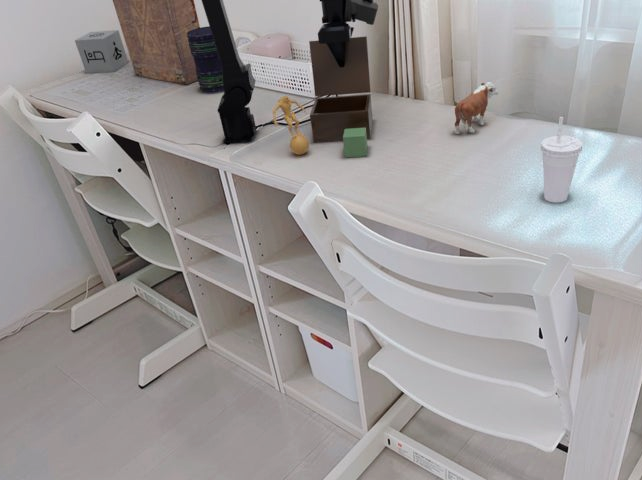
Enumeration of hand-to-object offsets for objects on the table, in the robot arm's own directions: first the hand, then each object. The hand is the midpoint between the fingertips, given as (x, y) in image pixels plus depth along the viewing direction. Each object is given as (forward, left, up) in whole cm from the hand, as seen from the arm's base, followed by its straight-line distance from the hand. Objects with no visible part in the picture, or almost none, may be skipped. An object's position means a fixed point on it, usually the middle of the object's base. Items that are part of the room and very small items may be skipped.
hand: (342, 66), depth 131 cm
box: (-1, -4, -13) cm, 13 cm away
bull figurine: (+28, -6, -13) cm, 31 cm away
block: (+3, -16, -13) cm, 20 cm away
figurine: (-10, -14, -13) cm, 21 cm away
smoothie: (+38, -39, -13) cm, 56 cm away
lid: (-1, +2, -1) cm, 2 cm away
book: (-58, +50, -13) cm, 77 cm away
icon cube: (-85, +65, -13) cm, 107 cm away
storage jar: (-40, +35, -13) cm, 54 cm away
